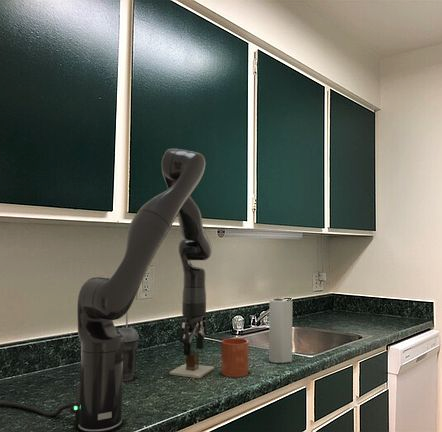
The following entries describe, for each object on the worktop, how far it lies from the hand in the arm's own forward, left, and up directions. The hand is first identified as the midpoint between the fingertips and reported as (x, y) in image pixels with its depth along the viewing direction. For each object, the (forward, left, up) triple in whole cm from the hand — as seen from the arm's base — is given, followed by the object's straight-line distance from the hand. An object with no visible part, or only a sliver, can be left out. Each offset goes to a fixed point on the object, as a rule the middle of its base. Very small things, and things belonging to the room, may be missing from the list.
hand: (193, 351), depth 144 cm
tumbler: (+13, +4, -6) cm, 15 cm away
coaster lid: (0, 0, -6) cm, 6 cm away
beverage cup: (-15, -14, -7) cm, 22 cm away
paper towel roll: (+22, +22, -7) cm, 31 cm away
